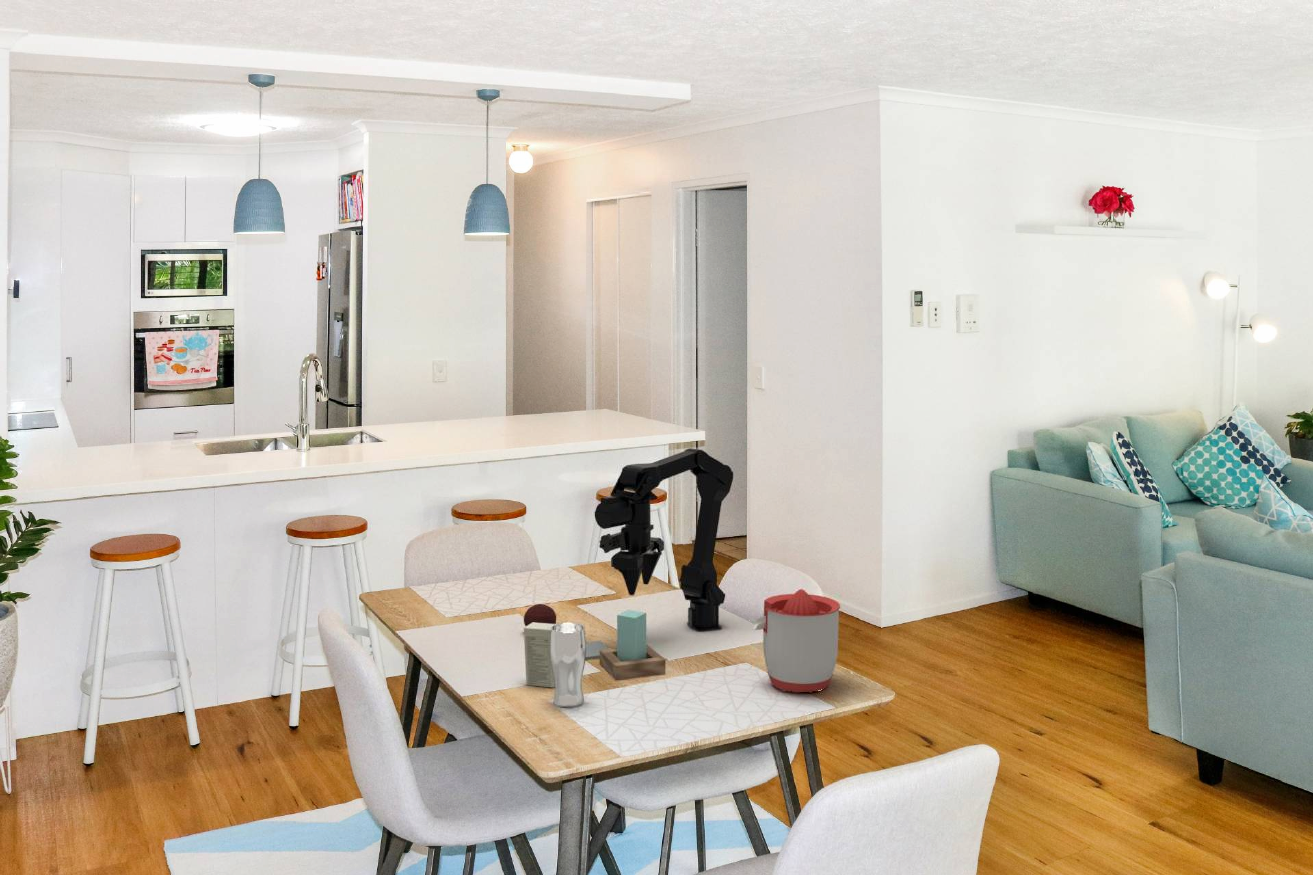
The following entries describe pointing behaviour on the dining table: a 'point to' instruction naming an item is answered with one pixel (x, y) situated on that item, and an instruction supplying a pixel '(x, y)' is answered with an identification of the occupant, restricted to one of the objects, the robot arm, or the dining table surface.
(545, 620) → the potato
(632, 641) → the teal block
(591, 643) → the slate coaster
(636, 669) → the walnut pocket
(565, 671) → the beer glass
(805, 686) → the citrus juicer
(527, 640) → the skincare box
